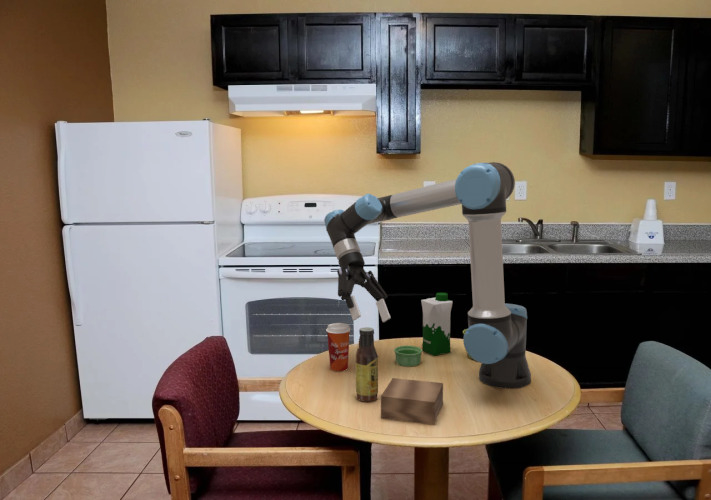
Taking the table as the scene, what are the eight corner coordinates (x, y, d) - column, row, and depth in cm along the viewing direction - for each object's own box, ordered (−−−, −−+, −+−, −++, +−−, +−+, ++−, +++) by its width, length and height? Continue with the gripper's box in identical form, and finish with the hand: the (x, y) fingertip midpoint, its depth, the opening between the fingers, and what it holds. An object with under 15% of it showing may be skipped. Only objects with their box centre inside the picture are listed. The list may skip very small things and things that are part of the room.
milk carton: (454, 352, 204) (455, 295, 201) (432, 357, 200) (433, 299, 196) (439, 345, 211) (439, 290, 208) (417, 350, 207) (418, 293, 204)
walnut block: (442, 403, 163) (443, 383, 162) (434, 424, 151) (434, 402, 150) (392, 398, 167) (392, 377, 166) (380, 418, 155) (380, 396, 154)
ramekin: (418, 368, 190) (418, 355, 189) (391, 366, 193) (391, 352, 192) (424, 359, 198) (424, 346, 198) (397, 356, 201) (397, 344, 200)
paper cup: (331, 374, 186) (330, 330, 184) (323, 366, 193) (322, 324, 191) (355, 370, 189) (354, 327, 186) (346, 362, 196) (345, 321, 194)
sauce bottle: (375, 403, 164) (374, 333, 160) (353, 401, 165) (352, 332, 162) (380, 394, 170) (380, 326, 167) (359, 392, 172) (358, 325, 168)
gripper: (367, 267, 194) (389, 326, 185) (312, 258, 175) (334, 323, 166) (383, 255, 190) (407, 315, 181) (329, 244, 172) (353, 310, 163)
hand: (372, 319), depth 174 cm, fingers open, 13 cm apart
